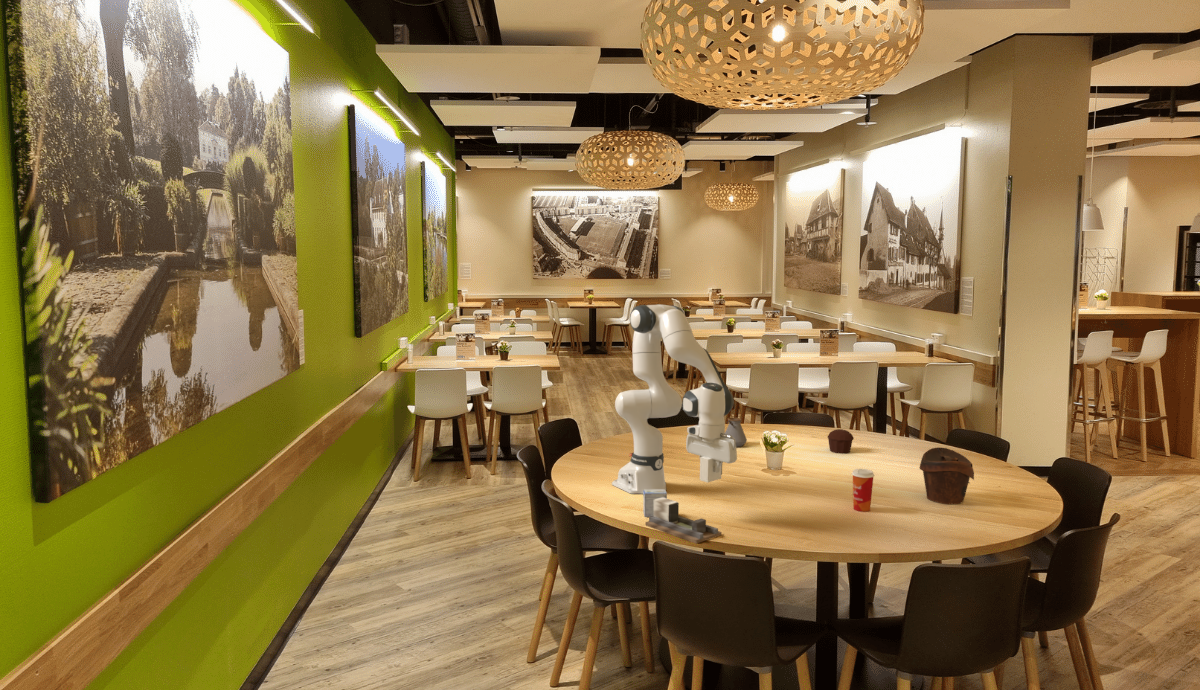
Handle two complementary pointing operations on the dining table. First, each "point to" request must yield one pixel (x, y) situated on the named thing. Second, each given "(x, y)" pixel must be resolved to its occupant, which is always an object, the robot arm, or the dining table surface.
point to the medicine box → (651, 500)
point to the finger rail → (679, 522)
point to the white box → (708, 470)
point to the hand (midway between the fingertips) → (710, 470)
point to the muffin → (840, 441)
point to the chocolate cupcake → (946, 475)
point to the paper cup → (862, 489)
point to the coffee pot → (736, 431)
